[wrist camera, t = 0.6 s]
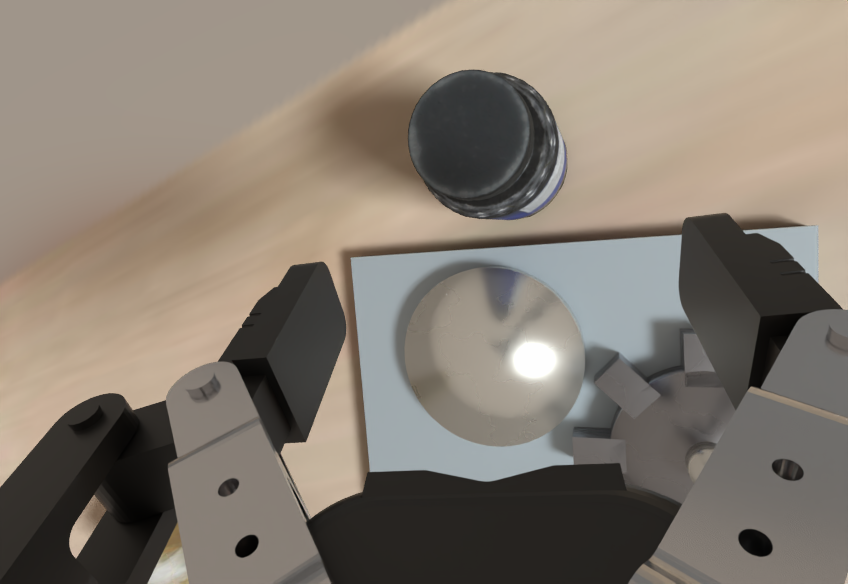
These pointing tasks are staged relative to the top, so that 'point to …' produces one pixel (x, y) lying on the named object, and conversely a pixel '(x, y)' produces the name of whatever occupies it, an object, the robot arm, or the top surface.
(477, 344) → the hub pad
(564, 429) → the gear board
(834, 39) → the top surface
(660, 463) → the gear
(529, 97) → the pill bottle
